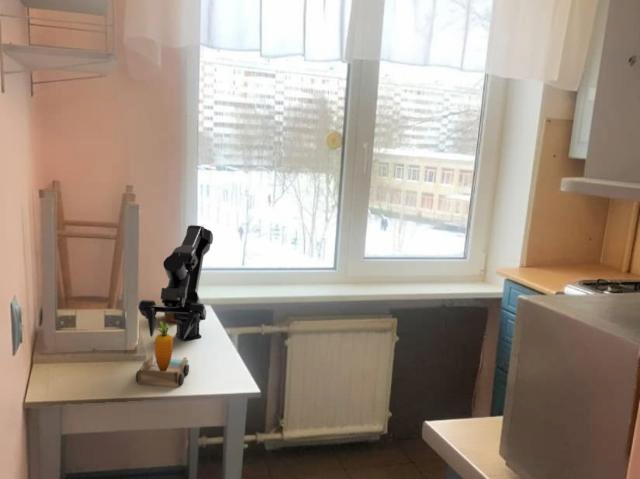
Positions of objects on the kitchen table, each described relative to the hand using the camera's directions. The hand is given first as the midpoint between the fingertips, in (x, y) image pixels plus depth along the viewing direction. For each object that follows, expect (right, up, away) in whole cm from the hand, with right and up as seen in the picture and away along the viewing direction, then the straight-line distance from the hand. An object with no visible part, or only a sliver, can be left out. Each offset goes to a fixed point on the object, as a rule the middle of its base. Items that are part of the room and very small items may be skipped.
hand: (167, 337), depth 169 cm
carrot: (-1, -10, -2) cm, 10 cm away
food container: (-10, -1, +43) cm, 45 cm away
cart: (-1, -10, +1) cm, 10 cm away
